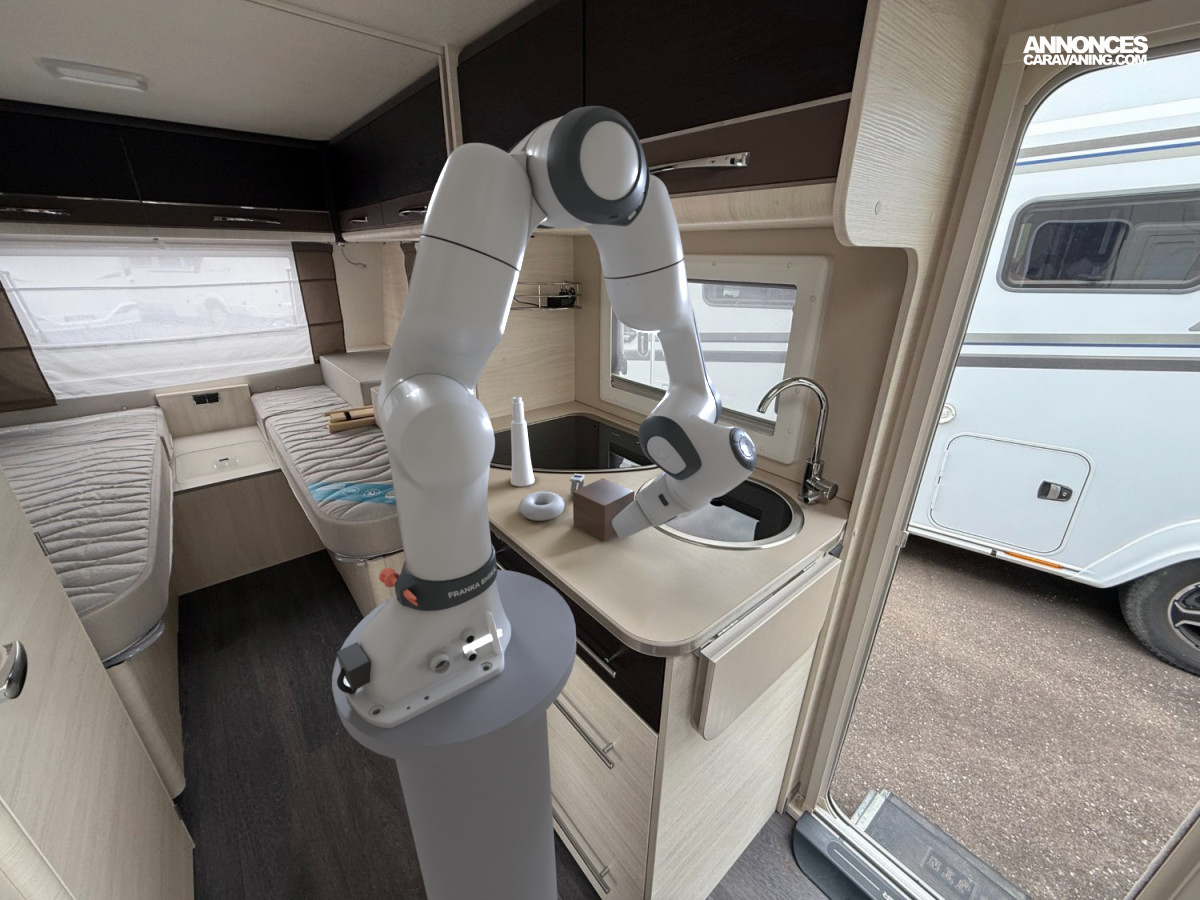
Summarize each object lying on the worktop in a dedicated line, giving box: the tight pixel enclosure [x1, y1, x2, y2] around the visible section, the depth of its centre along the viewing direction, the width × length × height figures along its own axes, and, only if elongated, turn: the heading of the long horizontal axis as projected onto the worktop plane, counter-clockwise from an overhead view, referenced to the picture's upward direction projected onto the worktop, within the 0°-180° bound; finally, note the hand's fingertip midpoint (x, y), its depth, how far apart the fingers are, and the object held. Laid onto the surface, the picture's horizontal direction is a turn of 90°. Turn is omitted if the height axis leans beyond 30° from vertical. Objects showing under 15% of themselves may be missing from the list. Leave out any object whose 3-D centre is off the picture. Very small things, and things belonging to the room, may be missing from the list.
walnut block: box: [572, 478, 635, 542], centre depth 97 cm, size 9×9×8 cm
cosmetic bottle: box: [510, 396, 535, 487], centre depth 115 cm, size 6×6×22 cm
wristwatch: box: [569, 473, 586, 498], centre depth 111 cm, size 6×3×5 cm, turn 164°
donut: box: [518, 491, 565, 522], centre depth 103 cm, size 10×4×10 cm
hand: (634, 521), depth 92 cm, fingers closed
